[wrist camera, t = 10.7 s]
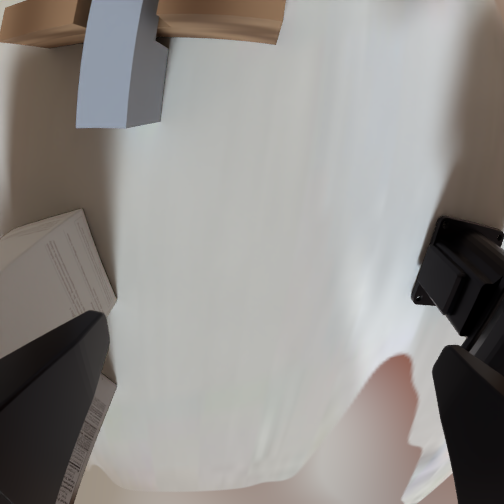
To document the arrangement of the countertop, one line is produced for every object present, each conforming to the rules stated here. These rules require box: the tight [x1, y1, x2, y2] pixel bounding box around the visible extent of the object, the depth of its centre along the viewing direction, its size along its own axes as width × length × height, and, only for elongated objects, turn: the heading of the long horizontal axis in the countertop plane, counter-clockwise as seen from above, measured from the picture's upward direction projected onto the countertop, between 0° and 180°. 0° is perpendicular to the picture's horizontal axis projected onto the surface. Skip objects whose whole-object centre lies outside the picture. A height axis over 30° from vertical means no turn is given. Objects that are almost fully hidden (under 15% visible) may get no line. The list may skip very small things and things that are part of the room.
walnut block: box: [0, 0, 286, 48], centre depth 12 cm, size 14×2×5 cm, turn 83°
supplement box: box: [0, 209, 117, 359], centre depth 15 cm, size 7×7×13 cm
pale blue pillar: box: [76, 0, 169, 128], centre depth 12 cm, size 2×12×5 cm, turn 173°
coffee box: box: [55, 373, 117, 504], centre depth 18 cm, size 9×6×16 cm
